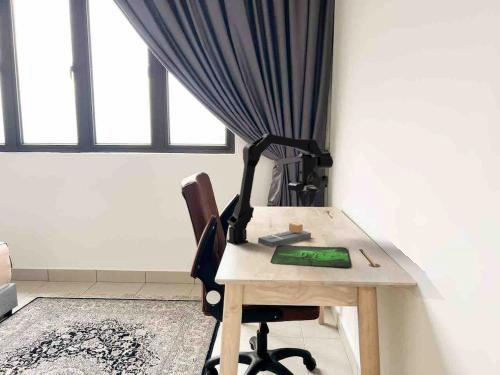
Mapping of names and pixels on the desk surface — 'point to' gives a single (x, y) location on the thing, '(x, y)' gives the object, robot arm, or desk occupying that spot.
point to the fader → (295, 227)
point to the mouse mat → (311, 256)
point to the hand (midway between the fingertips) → (307, 205)
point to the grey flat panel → (283, 238)
